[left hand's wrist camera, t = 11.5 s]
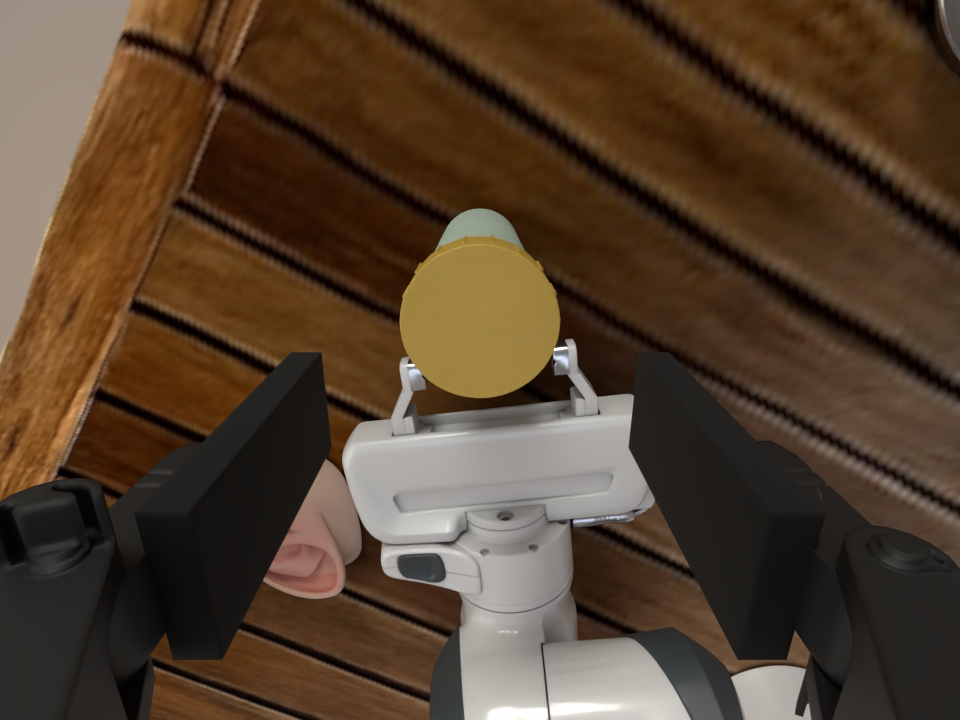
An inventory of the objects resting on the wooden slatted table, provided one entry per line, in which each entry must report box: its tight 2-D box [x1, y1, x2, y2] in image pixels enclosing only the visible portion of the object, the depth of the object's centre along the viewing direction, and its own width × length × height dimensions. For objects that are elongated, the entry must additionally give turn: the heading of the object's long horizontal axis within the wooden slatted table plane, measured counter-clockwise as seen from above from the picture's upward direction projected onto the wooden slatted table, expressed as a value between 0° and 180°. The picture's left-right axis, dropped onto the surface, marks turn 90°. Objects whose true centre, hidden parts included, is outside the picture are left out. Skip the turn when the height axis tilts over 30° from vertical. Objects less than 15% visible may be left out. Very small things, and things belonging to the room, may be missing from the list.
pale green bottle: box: [435, 209, 525, 251], centre depth 29 cm, size 6×6×18 cm
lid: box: [400, 235, 561, 398], centre depth 21 cm, size 6×6×2 cm
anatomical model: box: [263, 459, 362, 599], centre depth 43 cm, size 13×4×12 cm
